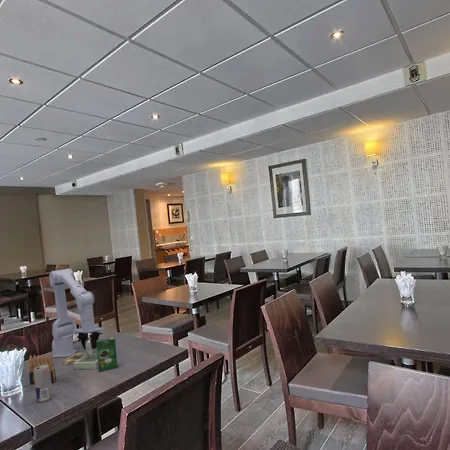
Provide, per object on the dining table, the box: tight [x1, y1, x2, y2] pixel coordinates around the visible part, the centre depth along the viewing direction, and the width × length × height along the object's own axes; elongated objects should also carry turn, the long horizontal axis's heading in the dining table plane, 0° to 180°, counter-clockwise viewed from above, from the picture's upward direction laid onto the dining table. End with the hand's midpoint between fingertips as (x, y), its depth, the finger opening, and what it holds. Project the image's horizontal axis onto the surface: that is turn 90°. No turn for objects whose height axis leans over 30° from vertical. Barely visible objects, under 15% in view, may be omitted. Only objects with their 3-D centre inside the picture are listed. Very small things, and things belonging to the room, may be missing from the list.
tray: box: [72, 353, 99, 371], centre depth 155 cm, size 11×11×3 cm
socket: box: [61, 352, 86, 365], centre depth 163 cm, size 10×10×2 cm
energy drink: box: [34, 364, 54, 403], centre depth 126 cm, size 5×5×12 cm
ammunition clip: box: [28, 353, 57, 386], centre depth 141 cm, size 11×2×12 cm, turn 84°
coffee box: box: [96, 336, 118, 372], centre depth 148 cm, size 8×3×13 cm, turn 110°
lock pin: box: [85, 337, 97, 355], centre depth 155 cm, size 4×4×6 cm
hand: (90, 348), depth 155 cm, fingers closed on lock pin, 4 cm apart
